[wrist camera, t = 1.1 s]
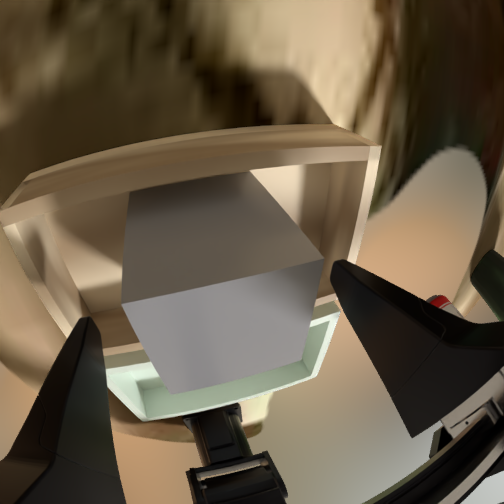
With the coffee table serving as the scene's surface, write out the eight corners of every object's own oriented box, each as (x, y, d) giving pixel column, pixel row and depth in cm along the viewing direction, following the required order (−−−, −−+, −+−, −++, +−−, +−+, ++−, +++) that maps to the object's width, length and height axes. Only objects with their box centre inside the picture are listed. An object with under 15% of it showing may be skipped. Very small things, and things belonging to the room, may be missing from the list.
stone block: (251, 263, 15) (301, 360, 10) (154, 284, 13) (170, 394, 9) (250, 171, 11) (324, 258, 7) (129, 192, 10) (121, 303, 6)
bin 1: (316, 258, 17) (345, 296, 15) (87, 308, 14) (83, 359, 11) (333, 124, 12) (381, 146, 10) (29, 173, 9) (-4, 212, 6)
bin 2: (299, 344, 23) (316, 376, 21) (137, 383, 20) (142, 421, 17) (313, 272, 18) (340, 310, 16) (95, 321, 15) (93, 370, 12)
